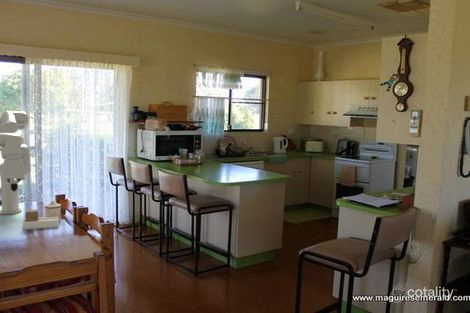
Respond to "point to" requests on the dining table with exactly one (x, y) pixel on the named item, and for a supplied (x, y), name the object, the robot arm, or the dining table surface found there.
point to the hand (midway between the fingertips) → (14, 190)
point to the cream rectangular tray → (41, 223)
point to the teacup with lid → (53, 210)
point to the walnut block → (32, 215)
